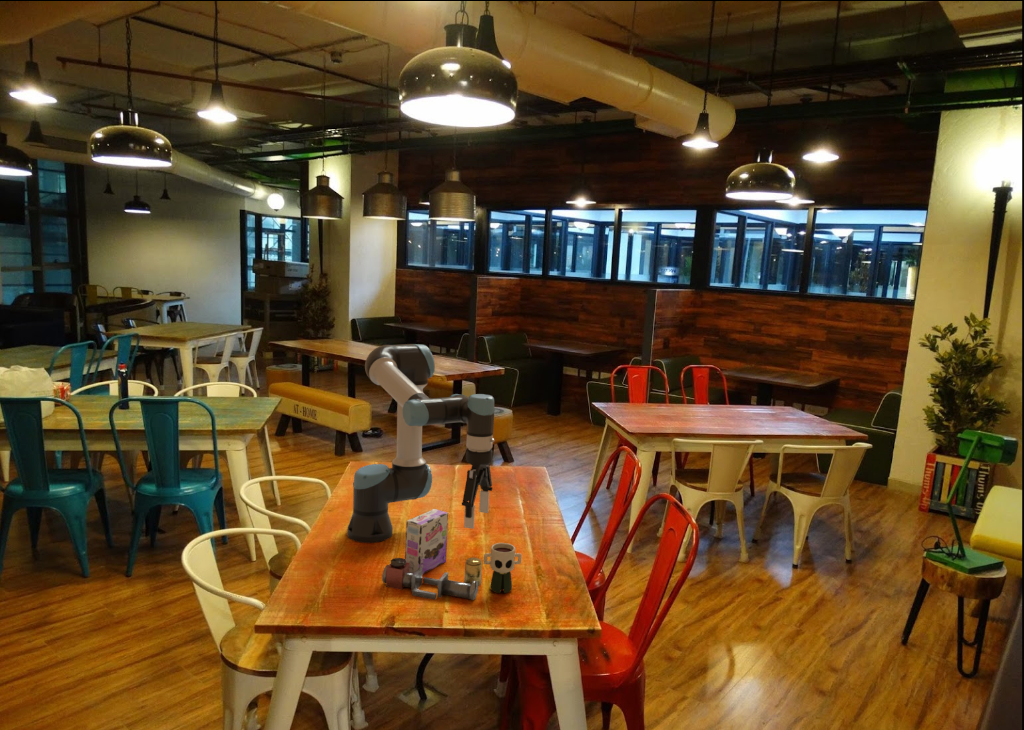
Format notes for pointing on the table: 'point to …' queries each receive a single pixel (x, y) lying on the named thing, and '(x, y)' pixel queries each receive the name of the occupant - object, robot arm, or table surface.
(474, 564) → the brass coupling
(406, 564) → the pipe run
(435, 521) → the candy box
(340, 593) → the table surface
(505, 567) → the character mug
